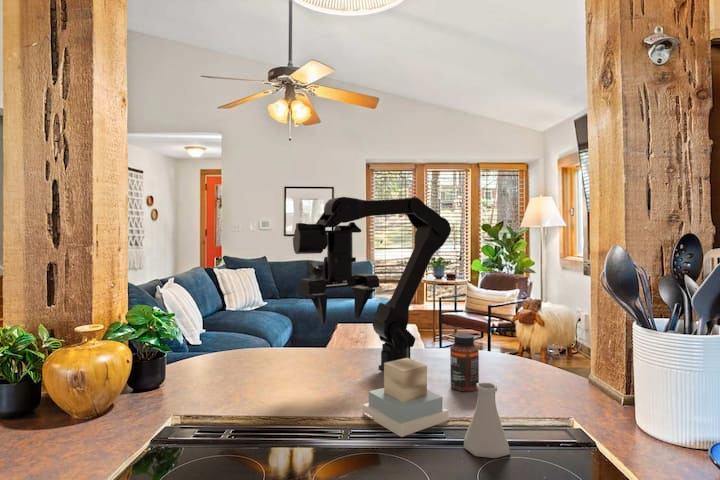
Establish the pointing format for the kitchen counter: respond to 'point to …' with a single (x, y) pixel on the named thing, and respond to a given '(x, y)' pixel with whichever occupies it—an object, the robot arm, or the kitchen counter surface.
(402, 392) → the maple cube
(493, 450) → the flask
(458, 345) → the supplement bottle
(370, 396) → the top block
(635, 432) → the kitchen counter surface
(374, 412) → the bottom block
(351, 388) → the kitchen counter surface
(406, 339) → the robot arm
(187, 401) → the kitchen counter surface
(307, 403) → the kitchen counter surface
